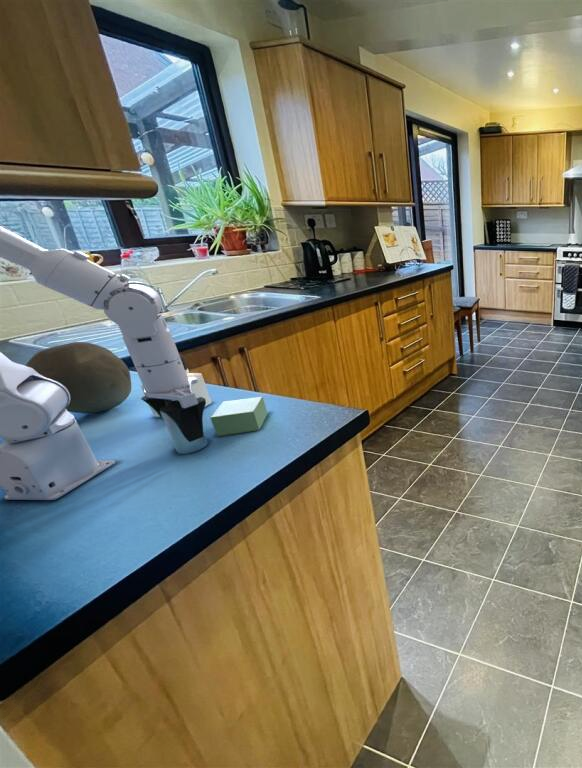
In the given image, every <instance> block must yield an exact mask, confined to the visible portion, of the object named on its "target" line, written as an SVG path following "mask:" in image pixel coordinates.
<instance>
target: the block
mask: <svg viewBox="0 0 582 768" xmlns="http://www.w3.org/2000/svg"><path fill="white" fill-rule="evenodd" d="M268 415H269V413H268V410H267V408H266V403H265V399H264V397H263V396H255V397H254V396H253V397H248V398H240V399H233V400H225V401H224V400H223V401H222V403H220V405H219V406H218V407H217V409H216V410H215V411H214V412H213V413H212V414H211V416H210V421H211V423H212V426H213V429H214V432H215V434H216V437H221V436H228V435H229V436H230V435H236V434H241V433H249V432H255V431H260V430H261V427H262V426H263V424H264V422H265V420H266V418H267V416H268Z"/></svg>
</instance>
